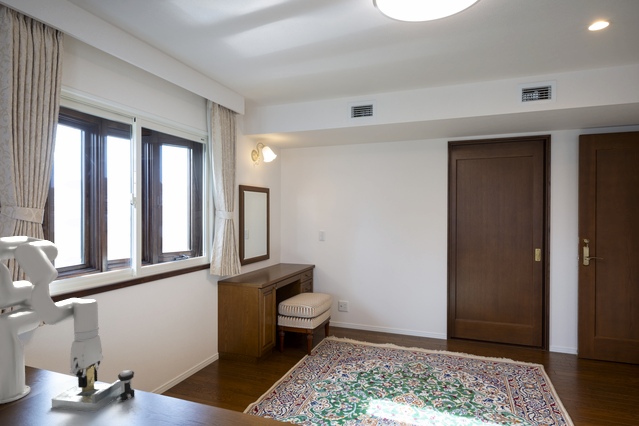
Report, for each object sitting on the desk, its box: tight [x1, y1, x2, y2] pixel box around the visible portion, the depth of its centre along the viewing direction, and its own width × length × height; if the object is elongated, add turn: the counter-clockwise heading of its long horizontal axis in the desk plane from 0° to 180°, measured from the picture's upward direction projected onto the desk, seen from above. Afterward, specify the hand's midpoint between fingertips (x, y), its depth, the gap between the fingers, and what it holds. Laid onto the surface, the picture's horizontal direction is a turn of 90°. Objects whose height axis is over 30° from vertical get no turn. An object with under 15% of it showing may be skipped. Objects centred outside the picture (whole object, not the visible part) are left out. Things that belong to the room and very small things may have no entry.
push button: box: [116, 368, 136, 403], centre depth 138 cm, size 7×5×10 cm
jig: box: [51, 379, 121, 413], centre depth 138 cm, size 18×13×6 cm
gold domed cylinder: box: [81, 365, 96, 392], centre depth 138 cm, size 4×4×8 cm
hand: (88, 383), depth 138 cm, fingers closed on gold domed cylinder, 4 cm apart
